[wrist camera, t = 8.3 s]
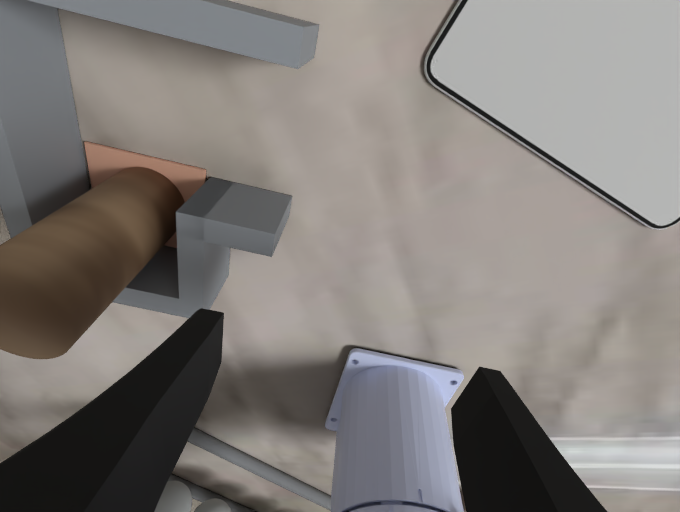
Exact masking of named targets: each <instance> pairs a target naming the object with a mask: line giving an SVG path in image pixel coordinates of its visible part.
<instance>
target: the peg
mask: <svg viewBox="0 0 680 512" xmlns="http://www.w3.org/2000/svg"><path fill="white" fill-rule="evenodd" d="M184 203H185V202H184V199H183V197H182V195H181V193H180V191H179V190H178V188H177V187H176V186H175V185H174V184H173V183H172V182H171V181H170V180H169V179H168V178H167V177H165V176H164V175H162V174H161V173H159V172H157V171H154V170H152V169H149V168H145V167H129V168H126V169H123V170H122V171H120V172H118V173H117V174H115V175H114V176H112V177H110V178H109V179H107V180H105V181H104V182H102V183H101V184H99V185H97V186H96V187H94V188H92V189H91V190H89V191H88V192H86V193H84V194H83V195H81V196H79V197H78V198H76V199H75V200H73V201H71V202H70V203H68V204H66V205H65V206H63V207H62V208H60V209H58V210H57V211H55V212H53V213H52V214H50V215H48V216H47V217H45V218H44V219H42V220H40V221H39V222H37V223H35V224H34V225H32V226H31V227H29V228H27V229H26V230H24V231H22V232H21V233H19V234H18V235H16V236H14V237H13V238H11V239H9V240H8V241H6V242H5V243H3V244H1V245H0V349H2V350H4V351H7V352H9V353H12V354H15V355H18V356H22V357H27V358H33V359H51V358H55V357H59V356H61V355H63V354H64V353H66V352H67V351H68V350H69V349H70V348H71V347H72V346H73V344H74V343H75V342H76V341H77V340H78V339H79V338H80V337H81V336H82V335H83V333H84V332H85V331H86V330H87V329H88V328H89V327H90V326H91V325H92V324H93V322H94V321H95V320H96V319H97V318H98V317H99V316H100V315H101V314H102V313H103V312H104V310H105V309H106V308H107V307H108V306H109V305H110V304H111V303H112V302H113V301H114V299H115V298H116V297H117V296H118V295H119V294H120V293H121V292H122V291H123V290H124V288H125V287H126V286H127V285H128V284H129V283H130V282H131V281H132V280H133V279H134V278H135V276H136V275H137V274H138V273H139V272H140V271H141V270H142V269H143V268H144V267H145V265H146V264H147V263H148V262H149V261H150V260H151V259H152V258H153V257H154V256H155V254H156V253H157V252H158V251H159V250H160V249H161V248H162V247H163V246H164V245H165V243H166V242H167V241H168V240H169V239H170V238H171V237H172V236H173V235H174V234H175V233H176V211H177V210H178V209H179V208H180V207H181V206H182V205H183V204H184Z"/></svg>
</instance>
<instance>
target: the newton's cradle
mask: <svg viewBox="0 0 680 512" xmlns="http://www.w3.org/2000/svg"><path fill="white" fill-rule="evenodd" d="M188 442H190V443H192V444H194V445H196V446H198V447H200V448H202V449H204V450H206V451H208V452H211V453H213V454H215V455H217V456H219V457H221V458H223V459H225V460H227V461H229V462H231V463H233V464H235V465H237V466H239V467H242V468H244V469H246V470H248V471H250V472H252V473H254V474H256V475H258V476H260V477H262V478H264V479H266V480H268V481H270V482H273V483H275V484H277V485H279V486H281V487H283V488H285V489H287V490H289V491H291V492H293V493H295V494H297V495H299V496H301V497H304V498H306V499H308V500H310V501H312V502H314V503H316V504H318V505H320V506H322V507H324V508H326V509H328V510H330V511H331V496H330V495H328V494H326V493H324V492H322V491H320V490H318V489H316V488H314V487H312V486H310V485H308V484H306V483H304V482H302V481H300V480H298V479H296V478H294V477H292V476H290V475H288V474H286V473H284V472H282V471H280V470H278V469H276V468H274V467H272V466H270V465H268V464H266V463H264V462H262V461H260V460H258V459H256V458H254V457H252V456H250V455H248V454H246V453H244V452H242V451H240V450H238V449H236V448H234V447H232V446H230V445H228V444H226V443H224V442H222V441H220V440H218V439H216V438H214V437H212V436H210V435H208V434H206V433H204V432H202V431H200V430H198V429H196V428H193V430H192V432H191V434H190V437H189V439H188ZM192 498H193V499H196V500H198V501H200V502H203V503H201V504H200V505H199V506H198V507H197V508H196V509H195V511H194V512H256V511H254V510H251V509H249V508H247V507H245V506H242V505H240V504H238V503H236V502H233V501H231V500H229V499H227V498H224V497H222V496H220V495H217V494H215V493H213V492H211V491H208V490H206V489H204V488H202V487H199V486H197V485H195V484H193V483H190V482H188V481H186V480H184V479H181V478H179V477H177V476H175V475H172V474H171V475H170V477H169V479H168V481H167V484H166V486H165V488H164V490H163V492H162V495H161V497H160V499H159V501H158V504H157V506H156V509H155V511H154V512H190V511H191V507H192Z"/></svg>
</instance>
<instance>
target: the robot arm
mask: <svg viewBox="0 0 680 512" xmlns="http://www.w3.org/2000/svg"><path fill="white" fill-rule="evenodd" d="M223 319H224V313H222V312H217V311H212V310H208V309H203V308H201V309H199V310H197V311H196V312H195V313H194V314H193V315H192V316H191V317H190V318H189V319H188V320H187V321H186V322H185V323H184V324H183V325H182V326H181V327H180V328H178V329H177V330H176V331H175V332H174V333H173V334H172V335H171V336H170V337H169V338H168V339H167V340H165V341H164V342H163V343H162V344H161V345H160V346H159V347H158V348H157V349H155V350H154V351H153V352H152V353H151V354H150V355H148V356H147V357H146V358H145V359H144V360H143V361H141V362H140V363H139V364H138V365H137V366H136V367H134V368H133V369H132V370H131V371H130V372H128V373H127V374H126V375H125V376H123V377H122V378H121V379H120V380H118V381H117V382H116V383H114V384H113V385H112V386H111V387H109V388H108V389H107V390H106V391H104V392H103V393H102V394H100V395H99V396H98V397H97V398H95V399H94V400H93V401H91V402H90V403H89V404H87V405H86V406H85V407H83V408H82V409H80V410H79V411H78V412H76V413H75V414H74V415H72V416H71V417H69V418H68V419H66V420H65V421H64V422H62V423H61V424H59V425H58V426H56V427H55V428H53V429H52V430H51V431H49V432H48V433H46V434H45V435H43V436H42V437H40V438H39V439H37V440H36V441H34V442H32V443H31V444H29V445H28V446H26V447H25V448H23V449H22V450H20V451H19V452H17V453H15V454H14V455H12V456H11V457H9V458H8V459H6V460H5V461H3V462H1V463H0V512H154V511H155V509H156V506H157V504H158V501H159V499H160V497H161V495H162V492H163V490H164V488H165V486H166V484H167V481H168V479H169V477H170V475H171V473H172V471H173V469H174V467H175V465H176V463H177V461H178V459H179V457H180V455H181V453H182V451H183V449H184V447H185V445H186V443H187V441H188V439H189V437H190V434H191V432H192V430H193V428H194V426H195V424H196V422H197V420H198V418H199V416H200V414H201V412H202V410H203V408H204V406H205V404H206V402H207V399H208V397H209V395H210V392H211V389H212V387H213V384H214V381H215V378H216V376H217V373H218V370H219V367H220V364H221V357H222V338H223ZM463 378H464V376H463V372H462V371H461V370H458V369H454V368H449V367H444V366H440V365H435V364H430V363H425V362H421V361H416V360H411V359H406V358H402V357H397V356H392V355H387V354H383V353H378V352H373V351H369V350H364V349H359V348H354V349H352V350H351V351H350V352H349V355H348V358H347V361H346V364H345V367H344V370H343V372H342V375H341V378H340V381H339V384H338V387H337V390H336V393H335V396H334V398H333V401H332V404H331V407H330V410H329V413H328V416H327V419H326V422H325V427H326V428H327V429H328V430H332V431H337V435H336V447H335V458H334V470H333V482H332V493H331V512H464V510H463V505H462V499H461V494H460V489H459V483H458V478H457V472H456V467H455V461H454V456H453V451H452V445H451V440H450V434H449V429H448V423H447V418H446V412H445V407H446V405H447V404H448V402H449V400H450V399H451V397H452V396H453V394H454V393H455V391H456V390H457V388H458V387H459V385H460V383H461V382H462V380H463ZM451 414H452V430H453V442H454V449H455V455H456V460H457V466H458V471H459V476H460V481H461V486H462V491H463V496H464V501H465V506H466V511H467V512H607V511H606V510H605V508H604V507H603V506H602V505H601V504H600V503H599V501H598V500H597V499H596V498H595V496H594V495H593V494H592V493H591V491H590V490H589V489H588V488H587V487H586V485H585V484H584V483H583V482H582V480H581V479H580V478H579V477H578V475H577V474H576V473H575V472H574V470H573V469H572V468H571V466H570V465H569V464H568V463H567V461H566V460H565V459H564V457H563V456H562V455H561V453H560V452H559V451H558V450H557V448H556V447H555V446H554V444H553V443H552V441H551V440H550V439H549V437H548V436H547V435H546V433H545V432H544V431H543V429H542V428H541V427H540V425H539V424H538V422H537V421H536V420H535V418H534V417H533V415H532V414H531V413H530V411H529V410H528V409H527V407H526V406H525V404H524V403H523V402H522V400H521V399H520V397H519V396H518V395H517V393H516V392H515V390H514V389H513V388H512V386H511V385H510V384H509V382H508V381H507V379H506V378H505V377H504V375H503V374H502V373H501V372H500V371H497V370H493V369H488V368H483V367H479V368H478V370H477V371H476V372H475V374H474V375H473V377H472V378H471V380H470V381H469V383H468V384H467V386H466V387H465V389H464V390H463V392H462V393H461V395H460V396H459V398H458V399H457V401H456V402H455V404H454V405H453V407H452V408H451Z"/></svg>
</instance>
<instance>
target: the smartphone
mask: <svg viewBox="0 0 680 512" xmlns="http://www.w3.org/2000/svg"><path fill="white" fill-rule="evenodd" d="M449 20H450V21H449ZM438 38H439V39H438ZM426 69H427V70H426ZM424 73H425V76H426V78H427V80H428V81H429V82H430V83H431V84H432V85H433V86H434V87H436V88H437V89H438V90H440V91H442V92H443V93H445V94H446V95H448V96H449V97H451V98H452V99H454V100H455V101H457V102H458V103H460V104H461V105H463V106H464V107H466V108H467V109H469V110H470V111H472V112H473V113H475V114H476V115H478V116H479V117H481V118H483V119H484V120H486V121H487V122H489V123H490V124H492V125H493V126H495V127H496V128H498V129H499V130H501V131H502V132H504V133H505V134H507V135H508V136H510V137H511V138H513V139H514V140H516V141H517V142H519V143H520V144H522V145H524V146H525V147H527V148H528V149H530V150H531V151H533V152H534V153H536V154H537V155H539V156H540V157H542V158H543V159H545V160H546V161H548V162H549V163H551V164H552V165H554V166H555V167H557V168H558V169H560V170H562V171H563V172H565V173H566V174H568V175H569V176H571V177H572V178H574V179H575V180H577V181H578V182H580V183H581V184H583V185H584V186H586V188H588V189H589V190H591V191H592V192H594V193H595V194H597V195H598V196H600V197H601V198H603V199H604V200H606V201H607V202H609V203H612V204H613V205H615V206H616V207H618V208H619V209H621V210H622V211H624V212H625V213H627V214H628V215H630V216H631V217H633V218H635V219H636V220H638V221H639V222H641V223H642V224H644V225H645V226H647V227H649V228H651V229H656V230H661V229H666V228H669V227H671V226H673V225H675V224H677V223H678V222H680V0H458V2H457V3H456V5H455V7H454V8H453V10H452V12H451V13H450V15H449V17H448V18H447V20H446V22H445V23H444V25H443V27H442V28H441V30H440V32H439V33H438V35H437V37H436V38H435V40H434V41H433V43H432V45H431V46H430V48H429V50H428V52H427V54H426V57H425V61H424ZM448 93H449V94H448ZM498 126H499V127H498ZM501 128H502V129H501ZM545 157H546V158H545ZM548 159H549V160H548ZM551 161H552V162H551ZM592 188H593V189H592ZM595 190H596V191H595ZM598 192H599V193H598ZM601 194H602V195H601ZM639 219H640V220H639ZM642 221H643V222H642ZM645 223H646V224H645Z"/></svg>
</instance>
